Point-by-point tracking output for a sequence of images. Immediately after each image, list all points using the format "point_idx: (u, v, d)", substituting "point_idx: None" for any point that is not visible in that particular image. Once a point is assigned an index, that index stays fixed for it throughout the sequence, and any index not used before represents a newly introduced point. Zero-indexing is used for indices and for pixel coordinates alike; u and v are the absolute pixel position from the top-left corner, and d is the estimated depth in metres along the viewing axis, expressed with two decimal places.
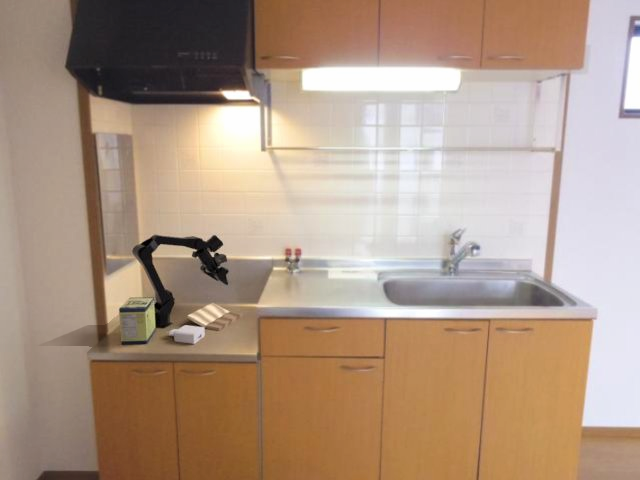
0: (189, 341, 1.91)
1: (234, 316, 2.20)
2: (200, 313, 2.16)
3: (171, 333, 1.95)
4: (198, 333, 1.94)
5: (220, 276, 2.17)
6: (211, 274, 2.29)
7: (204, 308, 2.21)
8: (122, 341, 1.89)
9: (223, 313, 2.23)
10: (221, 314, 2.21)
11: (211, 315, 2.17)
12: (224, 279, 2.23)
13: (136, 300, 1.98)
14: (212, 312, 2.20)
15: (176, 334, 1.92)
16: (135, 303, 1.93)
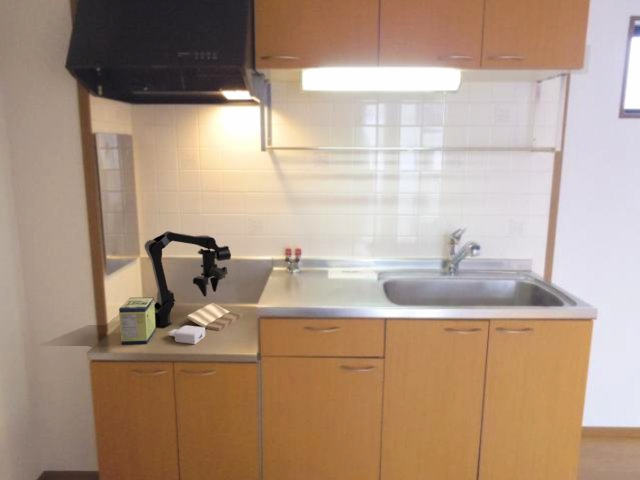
0: (190, 341, 1.91)
1: (234, 316, 2.20)
2: (200, 313, 2.16)
3: (171, 333, 1.95)
4: (199, 333, 1.94)
5: (194, 281, 2.13)
6: (212, 281, 2.26)
7: (204, 308, 2.21)
8: (122, 341, 1.89)
9: (223, 313, 2.23)
10: (221, 314, 2.21)
11: (211, 315, 2.17)
12: (203, 289, 2.17)
13: (136, 300, 1.98)
14: (212, 312, 2.20)
15: (177, 334, 1.92)
16: (135, 303, 1.93)
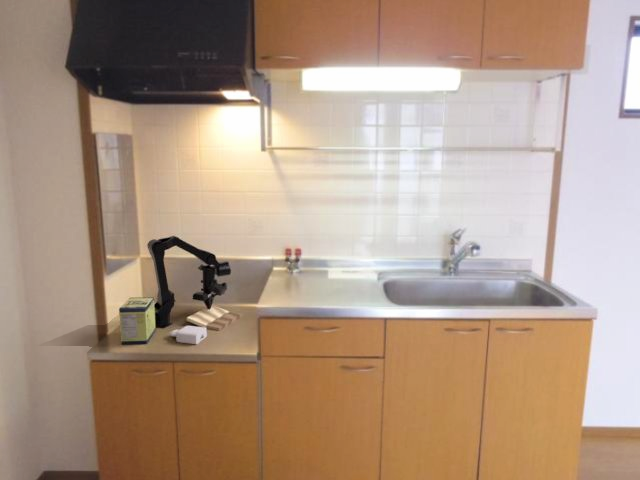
0: (191, 341, 1.91)
1: (234, 316, 2.20)
2: (199, 315, 2.16)
3: (173, 333, 1.95)
4: (200, 333, 1.94)
5: (193, 297, 2.14)
6: None
7: (203, 310, 2.21)
8: (122, 341, 1.89)
9: (223, 313, 2.23)
10: (221, 314, 2.21)
11: (210, 316, 2.17)
12: (207, 302, 2.22)
13: (136, 300, 1.98)
14: (212, 313, 2.20)
15: (178, 334, 1.92)
16: (135, 303, 1.93)
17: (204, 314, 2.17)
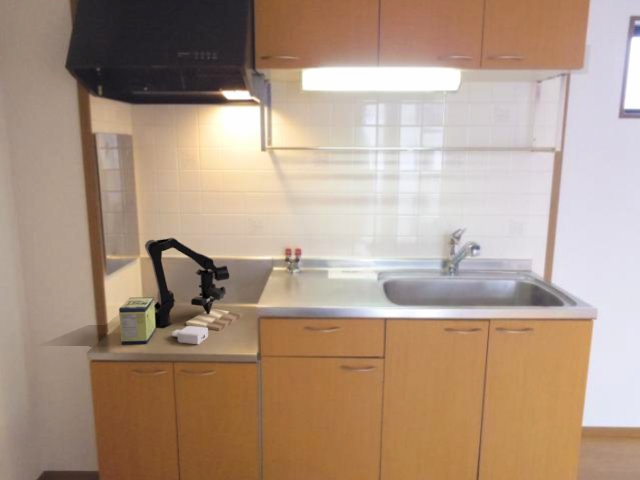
0: (193, 342, 1.91)
1: (234, 316, 2.20)
2: (198, 318, 2.16)
3: (174, 334, 1.95)
4: (202, 334, 1.93)
5: (192, 302, 2.13)
6: None
7: (202, 314, 2.22)
8: (122, 341, 1.89)
9: (222, 313, 2.23)
10: (220, 314, 2.21)
11: (210, 317, 2.18)
12: (206, 307, 2.20)
13: (136, 300, 1.98)
14: (211, 315, 2.20)
15: (180, 335, 1.91)
16: (135, 303, 1.93)
17: (203, 317, 2.18)
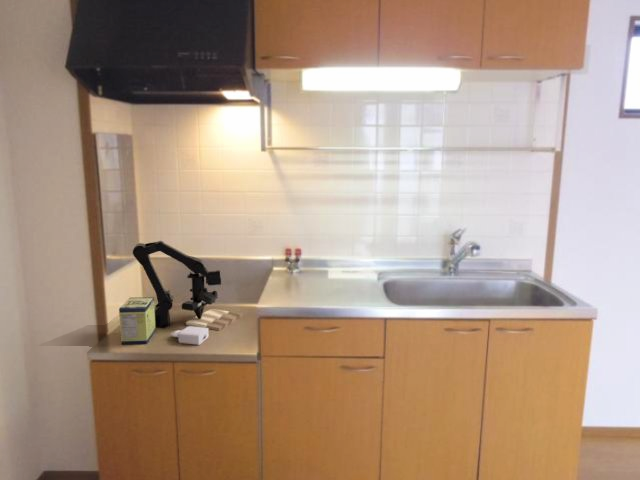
0: (194, 342, 1.90)
1: (234, 316, 2.20)
2: None
3: (175, 334, 1.94)
4: (202, 334, 1.93)
5: (183, 307, 2.06)
6: None
7: (202, 314, 2.22)
8: (122, 341, 1.89)
9: (222, 313, 2.23)
10: (220, 314, 2.21)
11: (210, 317, 2.18)
12: (197, 311, 2.14)
13: (136, 300, 1.98)
14: (211, 315, 2.20)
15: (180, 335, 1.91)
16: (135, 303, 1.93)
17: (203, 317, 2.18)
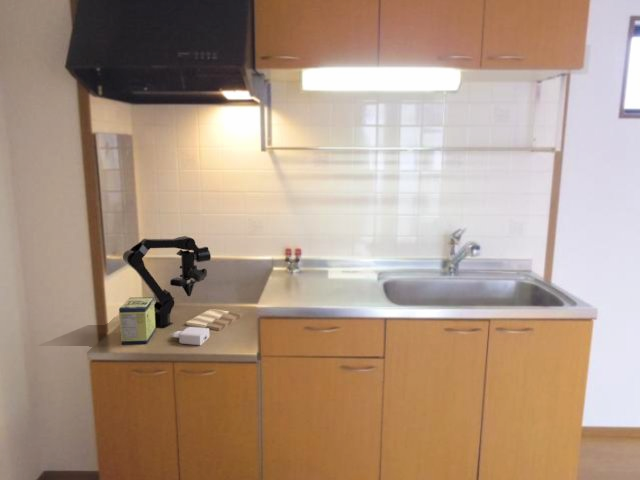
0: (195, 342, 1.90)
1: (234, 316, 2.20)
2: (198, 318, 2.16)
3: (176, 335, 1.93)
4: (204, 334, 1.93)
5: (171, 283, 2.08)
6: None
7: (202, 314, 2.22)
8: (122, 341, 1.89)
9: (222, 313, 2.23)
10: (220, 314, 2.21)
11: (210, 317, 2.18)
12: (186, 288, 2.16)
13: (136, 300, 1.98)
14: (211, 315, 2.20)
15: (181, 336, 1.90)
16: (135, 303, 1.93)
17: (203, 317, 2.18)
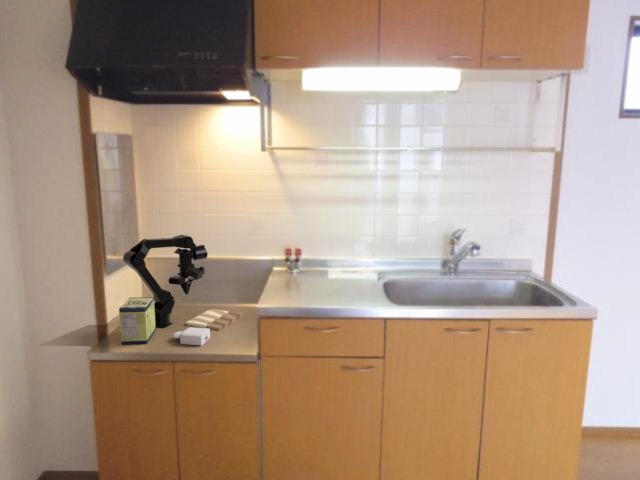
0: (196, 343, 1.89)
1: (234, 316, 2.20)
2: (198, 318, 2.16)
3: (176, 335, 1.93)
4: (205, 334, 1.92)
5: (169, 281, 2.09)
6: None
7: (202, 314, 2.22)
8: (122, 341, 1.89)
9: (222, 313, 2.23)
10: (220, 314, 2.21)
11: (210, 317, 2.18)
12: (184, 287, 2.17)
13: (136, 300, 1.98)
14: (211, 315, 2.20)
15: (182, 336, 1.90)
16: (135, 303, 1.93)
17: (203, 317, 2.18)
